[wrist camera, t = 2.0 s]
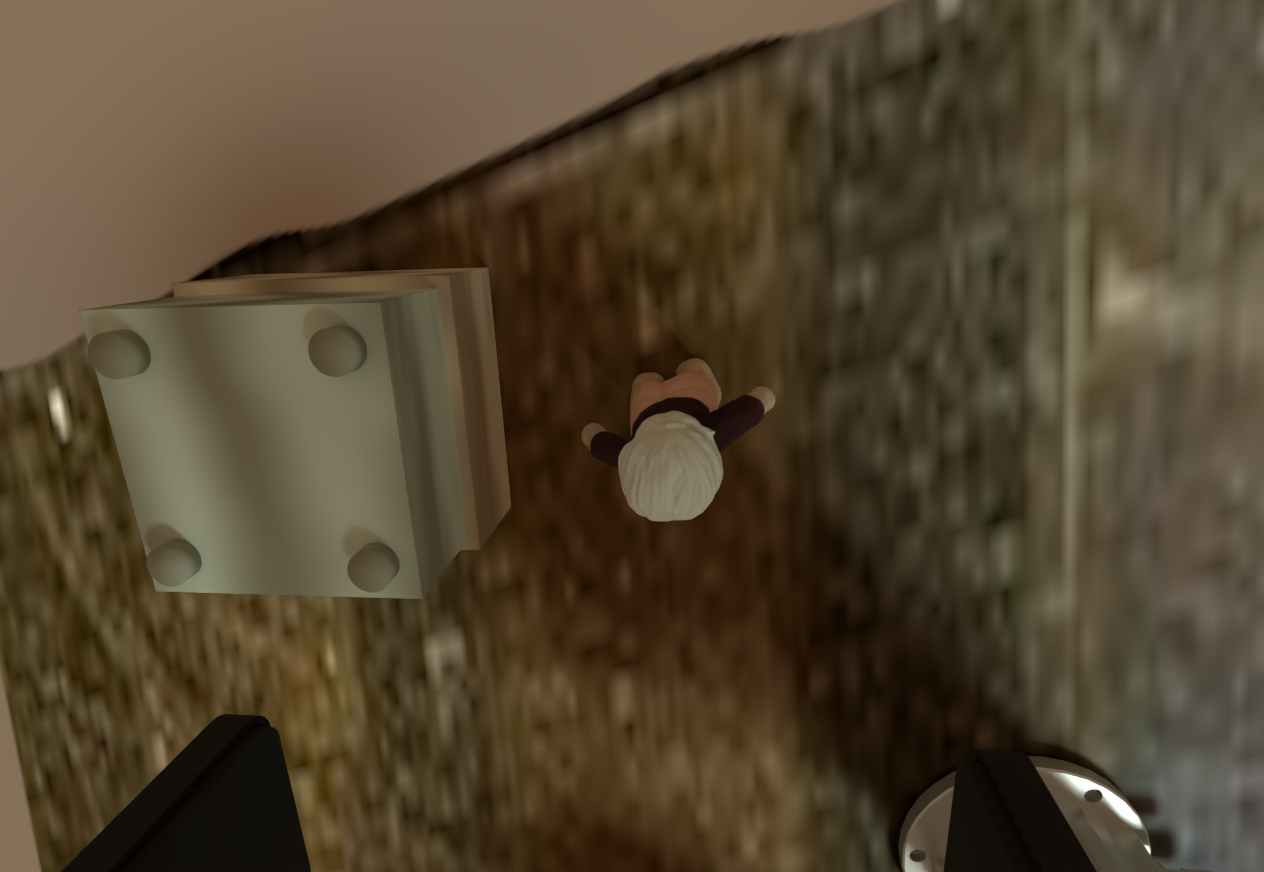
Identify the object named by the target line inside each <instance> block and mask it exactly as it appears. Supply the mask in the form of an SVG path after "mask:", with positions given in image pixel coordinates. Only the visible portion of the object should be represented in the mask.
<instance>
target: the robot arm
mask: <svg viewBox="0 0 1264 872" xmlns="http://www.w3.org/2000/svg"><path fill="white" fill-rule="evenodd" d="M898 848H899V860H900V864H901V867H902V871H903V872H1213V871H1208V870H1194V869H1180V870H1173V869H1166V868H1165V867H1164V865H1162V864H1161V863H1159V862H1155V861H1154V859H1153V858H1152V856H1151V845H1150V841H1149V837H1148V833H1147V830H1146V828H1145V826H1144V824H1143V822H1142V820H1141V818H1140V817H1139V815H1138V813H1137V812H1136V811H1135V809H1134V808H1133V807H1132V805H1131V804H1130V803H1129V801H1128V800H1127V799H1126V797H1125V796H1124V795H1123V794H1122V793H1121V792H1120V791H1119V790H1118V789H1117V788H1116V787H1115V786H1114V785H1112V784H1111V783H1110V782H1109V781H1108V780H1106V779H1105V778H1103V777H1101V776H1100V775H1098V774H1096V773H1095V772H1093V771H1091V770H1089V769H1087V768H1084V767H1081V766H1079V765H1076V764H1073V763H1071V762H1068V761H1063V760H1058V759H1053V758H1049V757H1040V756H1027V754H1025V753H1024V752H1022V751H1002V750H980V749H977V750H974V751H973V753H972V754H971V758H970V761H959V762H958V764H957V768H956V771H954V772H952V773H950V774H949V775H947V776H945V777H944V778H942V779H941V780H939V781H937V782H936V783H934V784H933V785H932V786H931V787H930V788H929V789H927V790H926V791H925V792H924V793H923V794H922V795H921V796H920V797H919V798H918V799H917V801H916V802H915V803H914V805H913V806H912V807H911V809H910V810H909V812H908V813H907V816H906V818H905V820H904V823H903V825H902V827H901V831H900V837H899V843H898ZM62 872H311V871H310V864H309V860H308V855H307V851H306V847H305V843H304V839H303V834H302V830H301V826H300V822H299V817H298V813H297V809H296V805H295V800H294V796H293V792H292V788H291V784H290V779H289V775H288V771H287V767H286V762H285V758H284V754H283V750H282V745H281V741H280V737H279V734H278V731H277V730H276V729H275V728H273V727H271V726H270V724H269V721H268V720H267V719H266V718H265V717H263V716H255V715H233V714H224V715H221V716H218V717H217V718H215V719H214V720H213V721H212V722H211V723H210V724H209V725H208V726H207V727H206V728H205V729H204V730H203V731H202V732H201V733H200V734H199V735H198V736H197V737H196V738H195V739H194V740H193V741H192V742H191V743H190V744H189V745H188V746H187V747H186V748H185V749H184V750H183V751H182V752H181V753H180V754H179V755H178V756H177V757H176V758H175V759H174V760H173V761H172V762H171V763H170V764H169V765H168V766H167V767H166V768H165V769H164V770H163V771H162V772H161V773H160V774H159V775H158V776H157V777H156V778H155V779H154V780H153V781H152V782H151V783H150V784H149V785H148V786H147V787H146V788H145V789H144V790H143V791H142V792H141V793H140V794H139V795H138V796H137V797H136V798H135V799H134V800H133V801H132V802H131V803H130V804H129V805H128V806H127V807H126V808H125V809H124V810H123V811H122V812H121V813H120V814H119V815H118V816H117V817H116V818H115V819H114V820H113V821H112V822H111V823H110V824H109V825H108V826H107V827H106V828H105V829H104V830H103V831H102V832H101V833H100V834H99V835H98V836H97V837H96V838H95V839H94V840H93V841H92V842H91V843H90V844H89V845H88V846H87V847H86V848H85V849H84V850H83V851H82V852H81V853H80V854H79V855H78V856H77V857H76V858H75V859H74V860H73V861H72V862H71V863H70V864H69V865H68V866H67V867H66V868H65V869H64V870H63V871H62Z"/></svg>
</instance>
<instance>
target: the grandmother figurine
mask: <svg viewBox="0 0 1264 872" xmlns="http://www.w3.org/2000/svg"><path fill="white" fill-rule="evenodd" d="M721 399H722V392H721V389H720V386H719V384H718V382H717V380H716V379H715V377H714V375H713V373H712V371H711V369H710V367H709V366H708V364H707V363H706V362H705V361H704V360H702V359H699V358H692V359H689V360H686V361H684V362H682V363H681V364H680V365H679V366H678V367H677V370H676V376H675V377H673V378H670V379H668V380H666V381H665V380H664V378H663V377H662V376H661V375H659V374H657V373H653V372H647V373H642V374H639V375H638V376H637V377H636V378H635V379H634V382H633V386H632V392H631V400H630V430H631V440H630V441H626V440H625V439H623V438H621V437H619V436H618V435H616V434H614V433H611V432H608V431H607V430H606V429H604V427H603V426H601V425H600V424H597V423H590V424H588V425H587V426H585V427H584V429H583V430H582V435H581V437H582V441H583V443H584V444H585V445H586V446H588V448H589V449H590V451H591V454H592V455H593V457H595V458H596V459H598V460H600V461H602V462H604V463H606V464H608V465H611V466H614V467H616V468H618V469H619V476H620V481H621V486H622V491H623V493H624V495H625V497H626V498H627V502H628V504H629V506H630V507H631V508H632V509H633V510H634V511H635V512H636V513H637V514H638V515H640V516H644V517H647V518H648V519H649V520H651V521H672V520H691V519H693V518H695V517H696V516H697V515H699V514H701V513H703V512H704V511H705V509H706V508H707V507H708V505H709V504H710V503H711V502H712V500H713V498H714V495H715V494H716V492H717V491H718V489H719V487H720V484H721V481H722V478H723V467H722V458H721V456H720V452H722V451H723V450H724V449H725V448H726V447H728V446H729V445H730V444H731V443H732V442H734V441H735V440H736V439H738V438H739V437H740V436H742V435H743V434H744V433H745V432H747V431H748V430H749V429H750V428H752V427H754V426H755V425H757V424H758V423H759V422H760V421H761V420H762V418H763V417H764V415H765V413H766V412H768V411H769V410H771V409H772V408H773V406H774V404H775V395H774V393H773V392H772V390H770V389H769V388H767V387H763V386H759V387H756V388H754V389H753V390H752V391H751V392H750V393H748V394H746V395H743V396H741V397H739V398H737V399H735V400H733V401H731V402H729V403H727V404H725V405H723V406H722V407H721V408H719V409H718V406H719V404H720V402H721Z"/></svg>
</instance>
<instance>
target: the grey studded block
mask: <svg viewBox="0 0 1264 872" xmlns="http://www.w3.org/2000/svg"><path fill="white" fill-rule="evenodd" d="M172 289H173V293H174V297H170V298H163V299H156V300H149V301H141V302H134V303H127V304H120V305H112V306H105V307H98V308H91V309H84V310H79V311H80V315H81V319H82V321H83V326H84V330H85V333H86V337H87V341H88V344H89V346H88V355H89V358H90V361H91V363H92V365H93V366H94V368H95V370H96V373H97V377H98V381H99V384H100V388H101V392H102V395H103V399H104V403H105V406H106V410H107V414H108V417H109V421H110V425H111V428H112V432H113V436H114V439H115V443H116V447H117V450H118V454H119V458H120V461H121V465H122V468H123V472H124V476H125V479H126V483H127V487H128V490H129V494H130V498H131V501H132V505H133V509H134V512H135V516H136V520H137V523H138V527H139V531H140V534H141V538H142V542H143V545H144V549H145V553H146V556H147V559H146V566H147V569H148V571H149V573H150V575H151V576H152V578H153V582H154V585H155V589H156V591H166V592H200V593H234V594H269V595H303V596H337V597H372V598H406V599H423V598H424V596H425V595H426V594H427V592H428V591H429V590H430V589H431V587H432V586H433V585H434V583H435V582H436V581H437V579H438V578H439V577H440V576H441V574H442V573H443V572H444V570H445V569H446V568H447V567H448V565H449V564H450V563H451V561H452V560H453V559H454V557H455V556H456V555H457V554H458V552H459V551H460V550H481V548H482V547H483V545H484V544H485V543H486V541H487V540H488V538H489V537H490V536H491V534H492V533H493V531H494V530H495V528H496V527H497V526H498V524H499V523H500V521H501V520H502V519H503V517H504V516H505V514H506V513H507V512H508V510H509V509H510V507H511V497H510V487H509V476H508V466H507V455H506V445H505V434H504V424H503V413H502V403H501V392H500V382H499V371H498V361H497V351H496V340H495V330H494V319H493V309H492V298H491V288H490V277H489V267H480V268H448V269H416V270H383V271H351V272H318V273H286V274H254V275H242V276H233V277H224V278H215V279H206V280H197V281H189V282H180V283H172Z"/></svg>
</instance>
